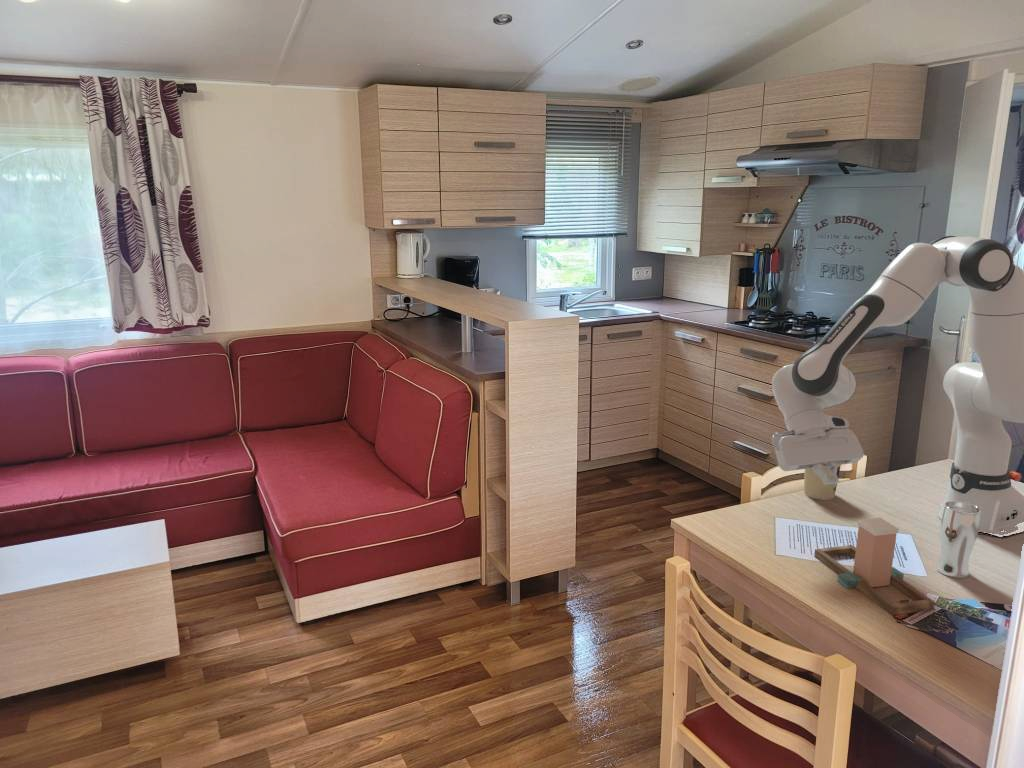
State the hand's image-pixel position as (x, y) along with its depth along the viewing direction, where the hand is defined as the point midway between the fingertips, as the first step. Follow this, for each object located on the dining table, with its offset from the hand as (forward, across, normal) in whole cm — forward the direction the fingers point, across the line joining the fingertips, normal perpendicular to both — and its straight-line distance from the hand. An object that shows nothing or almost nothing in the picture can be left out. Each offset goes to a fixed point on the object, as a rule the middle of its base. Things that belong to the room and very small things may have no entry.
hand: (831, 483), depth 168 cm
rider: (+22, -1, 0) cm, 23 cm away
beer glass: (+23, +19, 0) cm, 30 cm away
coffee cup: (-8, +17, +31) cm, 36 cm away
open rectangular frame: (+22, -1, 0) cm, 22 cm away
